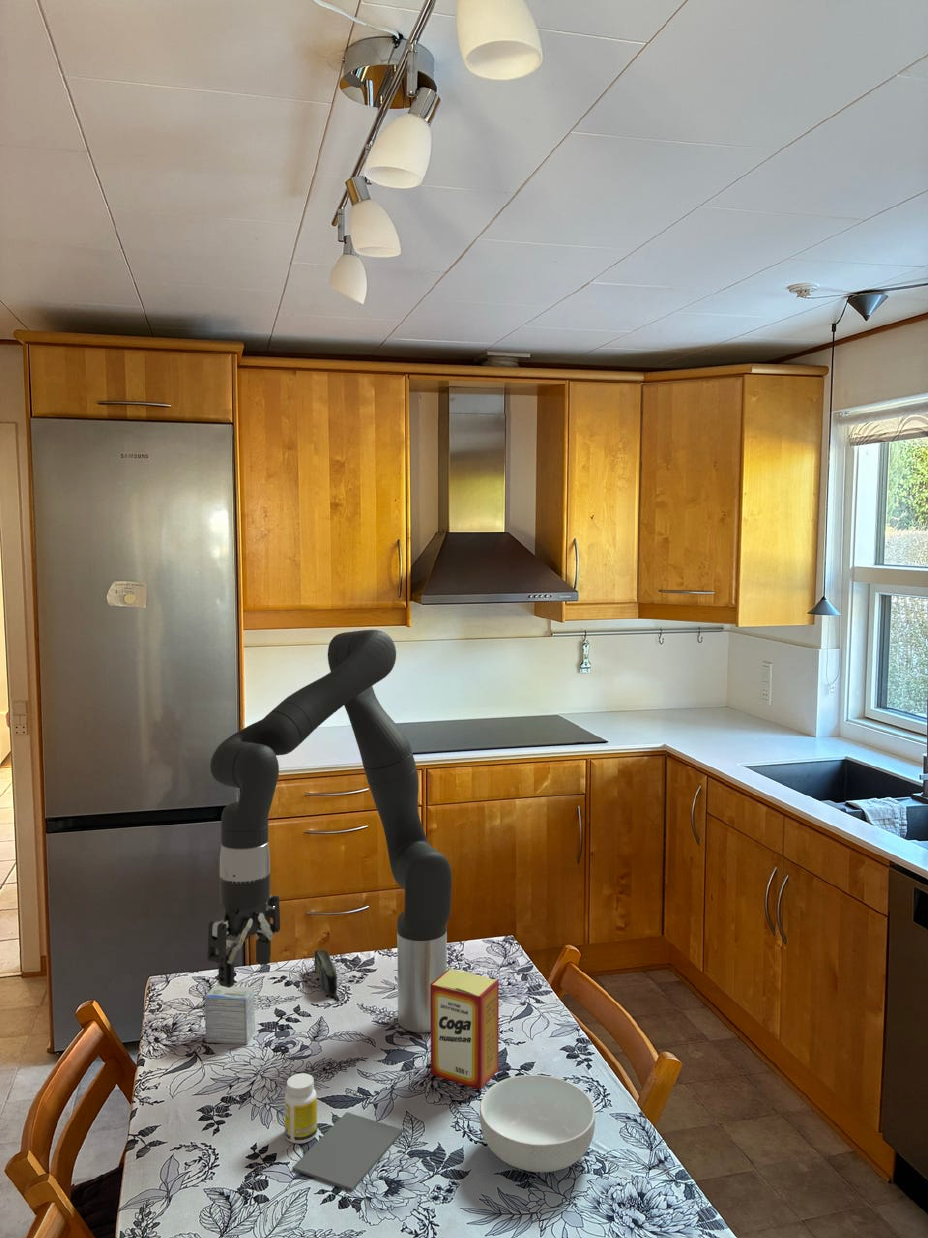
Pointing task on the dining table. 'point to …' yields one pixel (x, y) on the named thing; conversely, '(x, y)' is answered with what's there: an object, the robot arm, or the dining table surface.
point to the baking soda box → (464, 1028)
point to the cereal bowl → (537, 1122)
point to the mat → (348, 1151)
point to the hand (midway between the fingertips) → (245, 974)
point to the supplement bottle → (300, 1109)
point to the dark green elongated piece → (326, 973)
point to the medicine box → (229, 1014)
